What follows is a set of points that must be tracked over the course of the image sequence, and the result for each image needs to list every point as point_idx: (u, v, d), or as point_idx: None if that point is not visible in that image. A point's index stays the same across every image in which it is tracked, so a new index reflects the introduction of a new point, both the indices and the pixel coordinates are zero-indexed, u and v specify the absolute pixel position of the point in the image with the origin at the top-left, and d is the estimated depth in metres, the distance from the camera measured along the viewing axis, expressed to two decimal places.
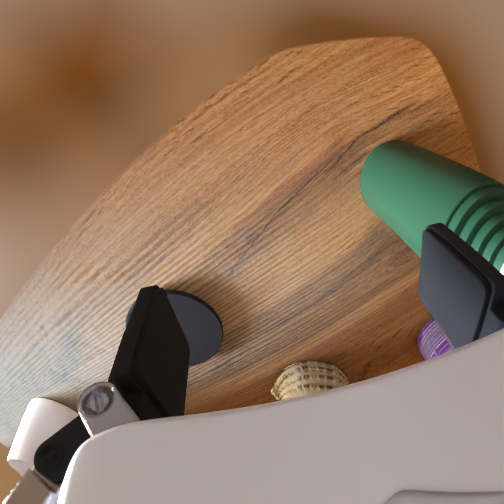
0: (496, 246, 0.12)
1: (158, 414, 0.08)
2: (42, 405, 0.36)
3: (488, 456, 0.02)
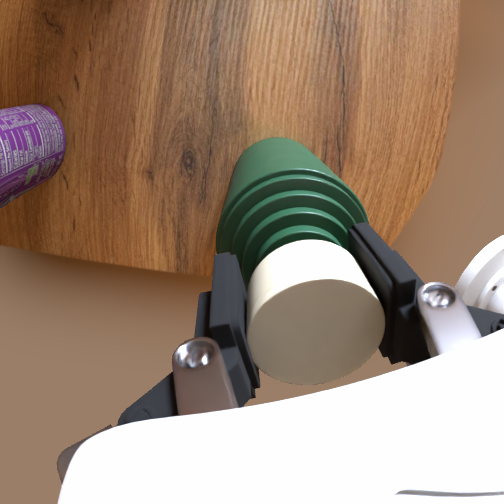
0: None
1: (245, 370, 0.09)
2: None
3: (488, 456, 0.02)
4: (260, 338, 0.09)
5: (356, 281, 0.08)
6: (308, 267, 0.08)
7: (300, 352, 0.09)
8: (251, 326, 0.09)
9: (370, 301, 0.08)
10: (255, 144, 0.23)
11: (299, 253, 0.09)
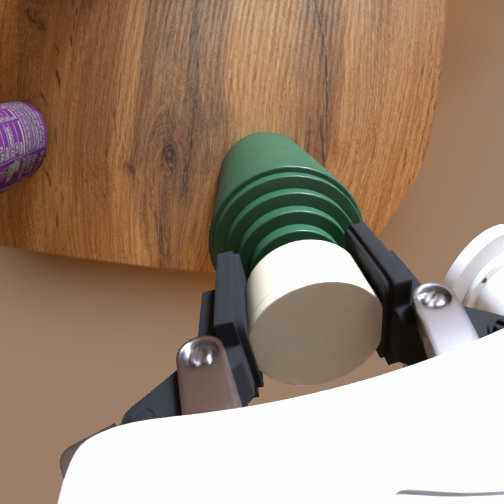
0: None
1: (248, 369, 0.09)
2: None
3: (488, 456, 0.02)
4: (262, 341, 0.09)
5: (358, 283, 0.08)
6: (310, 269, 0.08)
7: (302, 353, 0.09)
8: (253, 330, 0.08)
9: (372, 302, 0.08)
10: (243, 139, 0.22)
11: (299, 254, 0.09)
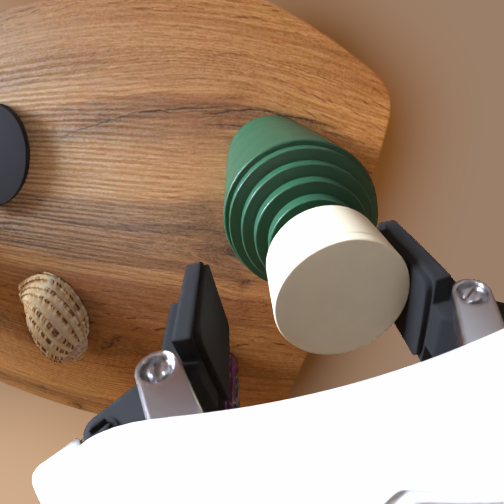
0: (311, 200, 0.11)
1: (211, 383, 0.08)
2: None
3: (488, 456, 0.02)
4: (330, 346, 0.09)
5: (284, 276, 0.08)
6: None
7: (357, 316, 0.09)
8: (315, 352, 0.10)
9: (310, 262, 0.08)
10: None
11: (269, 287, 0.10)
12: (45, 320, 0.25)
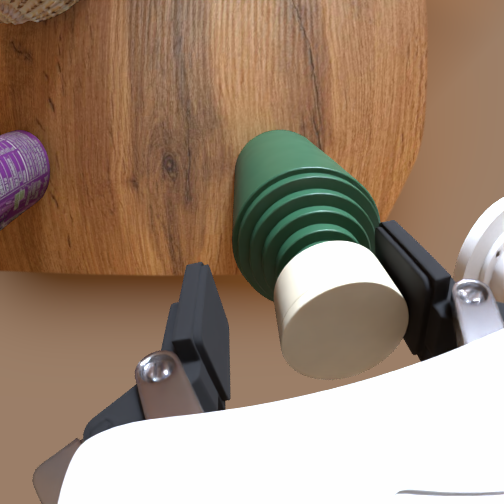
0: None
1: (211, 383, 0.08)
2: None
3: (488, 456, 0.02)
4: (341, 372, 0.10)
5: (285, 324, 0.09)
6: None
7: (361, 345, 0.09)
8: (329, 378, 0.10)
9: (305, 310, 0.09)
10: (248, 144, 0.23)
11: None
12: None
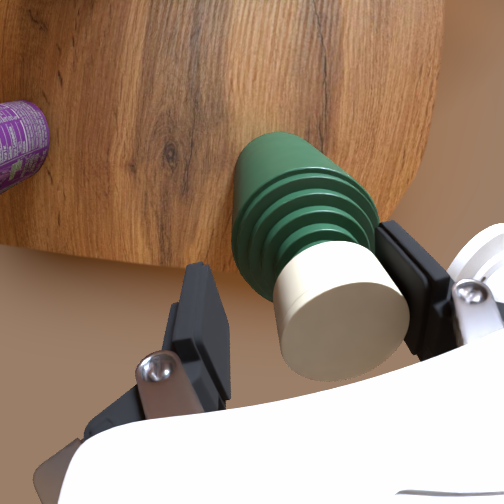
0: None
1: (211, 383, 0.08)
2: None
3: (488, 456, 0.02)
4: (396, 334, 0.09)
5: (315, 379, 0.10)
6: None
7: (365, 325, 0.09)
8: (400, 341, 0.09)
9: (303, 372, 0.10)
10: (252, 142, 0.23)
11: None
12: None
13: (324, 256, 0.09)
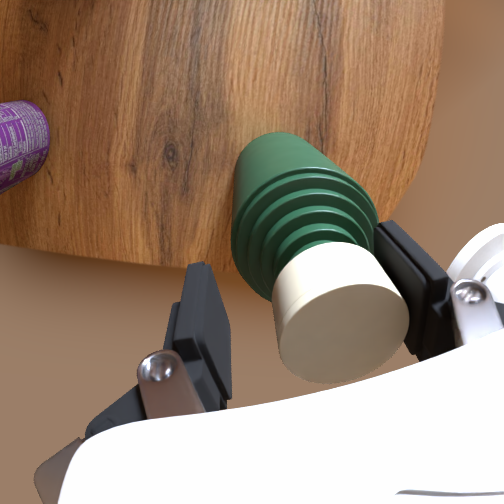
0: None
1: (213, 382, 0.08)
2: None
3: (488, 456, 0.02)
4: (356, 296, 0.08)
5: (397, 347, 0.09)
6: None
7: (333, 332, 0.09)
8: (371, 285, 0.08)
9: (380, 362, 0.10)
10: (252, 142, 0.23)
11: None
12: None
13: None
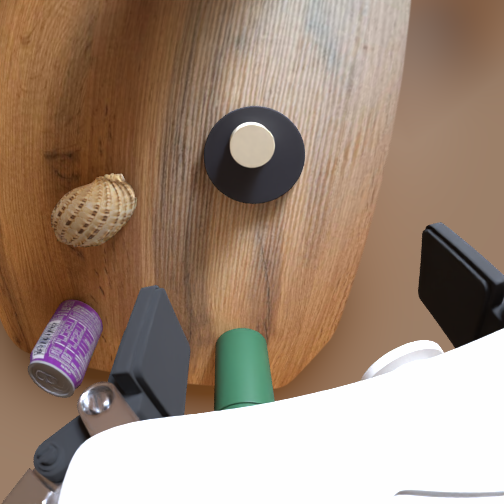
0: None
1: (158, 414, 0.08)
2: None
3: (488, 456, 0.02)
4: (234, 146, 0.28)
5: (260, 125, 0.27)
6: (246, 124, 0.28)
7: (247, 151, 0.28)
8: (231, 142, 0.28)
9: (265, 131, 0.27)
10: (225, 337, 0.41)
11: (244, 124, 0.28)
12: (100, 227, 0.29)
13: None
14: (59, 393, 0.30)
